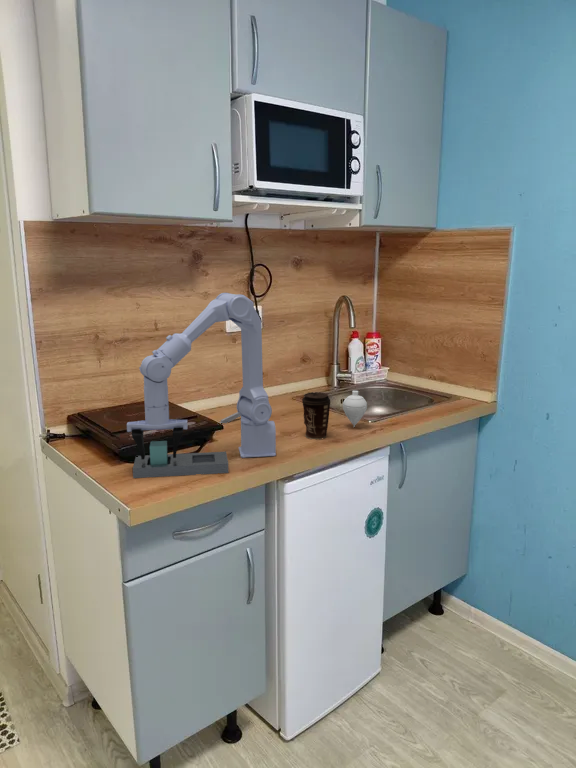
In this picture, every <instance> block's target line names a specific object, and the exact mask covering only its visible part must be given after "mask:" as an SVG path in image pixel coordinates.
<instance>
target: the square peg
mask: <svg viewBox="0 0 576 768" xmlns="http://www.w3.org/2000/svg"><path fill="white" fill-rule="evenodd" d="M168 454H169V453H168V441H167V440H160V441H159V440H158V441H155V440H154V441H153V440H152V441H150V443H149V455H150V464H151V465H162V464H168Z"/></svg>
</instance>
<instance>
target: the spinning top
mask: <svg viewBox="0 0 576 768" xmlns="http://www.w3.org/2000/svg"><path fill="white" fill-rule="evenodd" d="M351 392H352V394H351V395H348V396H347V397H346V398H345V399H344V400H343V402H342V409H343V412H344V413H345V416H346V417H347V419H348V421H349V422H350V423H351V424H352V425H353V428H354V427H356V425H357V424H358V423H359V422H360V421H361V419H362V418H363V416H364V415H365V414H366V412H367V409H368V402H367V401H366V399H365V398H364V397H363V396H362V395H359V390H352V391H351Z"/></svg>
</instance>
